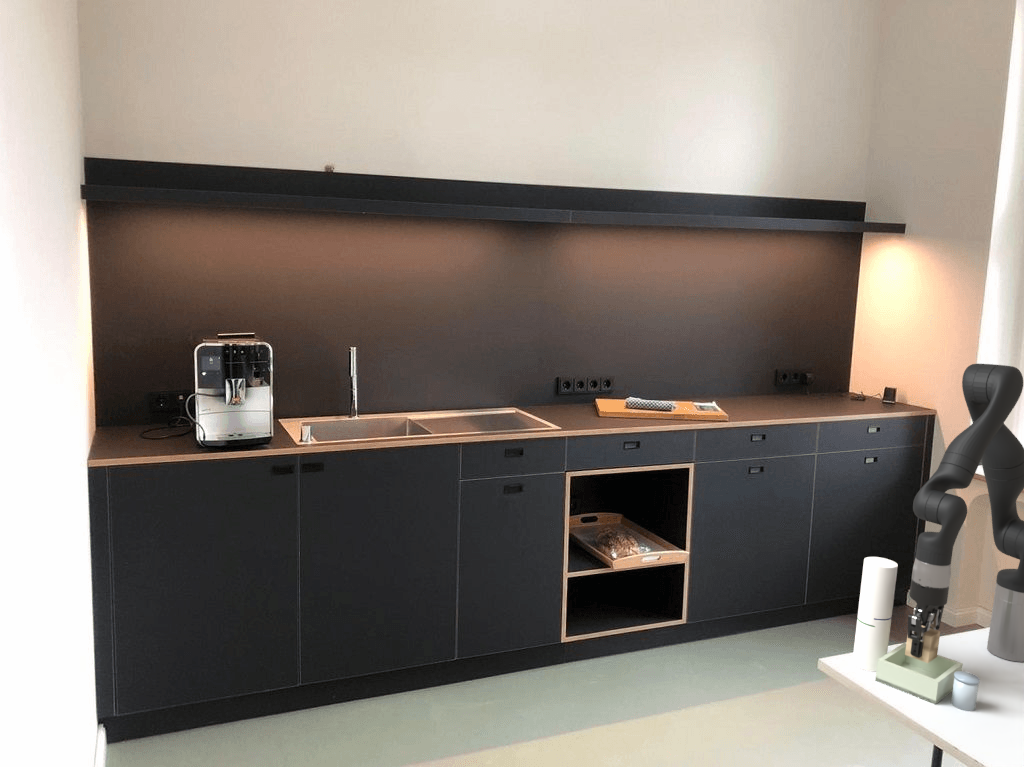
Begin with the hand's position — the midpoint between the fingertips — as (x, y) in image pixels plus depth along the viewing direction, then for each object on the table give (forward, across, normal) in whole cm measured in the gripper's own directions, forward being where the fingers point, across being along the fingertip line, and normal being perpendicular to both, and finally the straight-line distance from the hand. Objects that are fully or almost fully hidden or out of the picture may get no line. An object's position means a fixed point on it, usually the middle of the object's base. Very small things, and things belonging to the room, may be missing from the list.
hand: (921, 652), depth 190 cm
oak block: (+1, 0, 0) cm, 1 cm away
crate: (+7, 0, 0) cm, 7 cm away
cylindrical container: (+7, 0, -11) cm, 13 cm away
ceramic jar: (+7, +2, +11) cm, 13 cm away
